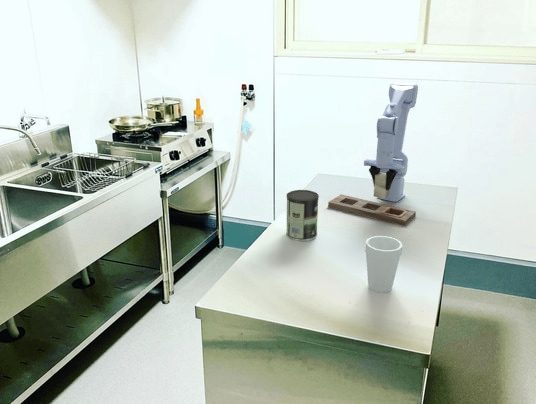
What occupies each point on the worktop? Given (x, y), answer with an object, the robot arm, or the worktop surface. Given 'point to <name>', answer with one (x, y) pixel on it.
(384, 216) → the brown slotted board
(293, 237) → the coffee can
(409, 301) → the worktop surface
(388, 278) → the foam cup
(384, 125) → the robot arm
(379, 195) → the peg
